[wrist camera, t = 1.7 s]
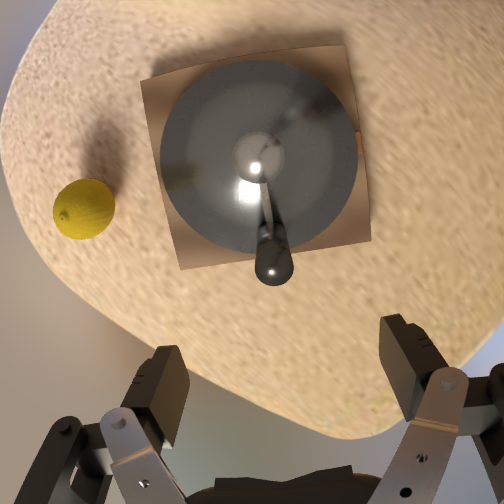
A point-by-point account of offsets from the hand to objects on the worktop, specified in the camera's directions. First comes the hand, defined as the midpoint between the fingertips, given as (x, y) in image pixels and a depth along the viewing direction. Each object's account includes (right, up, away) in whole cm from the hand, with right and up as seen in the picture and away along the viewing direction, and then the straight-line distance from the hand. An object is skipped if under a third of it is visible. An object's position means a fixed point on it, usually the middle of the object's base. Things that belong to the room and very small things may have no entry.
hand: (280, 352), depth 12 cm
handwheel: (0, +12, +14) cm, 18 cm away
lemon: (-16, +9, +19) cm, 26 cm away
